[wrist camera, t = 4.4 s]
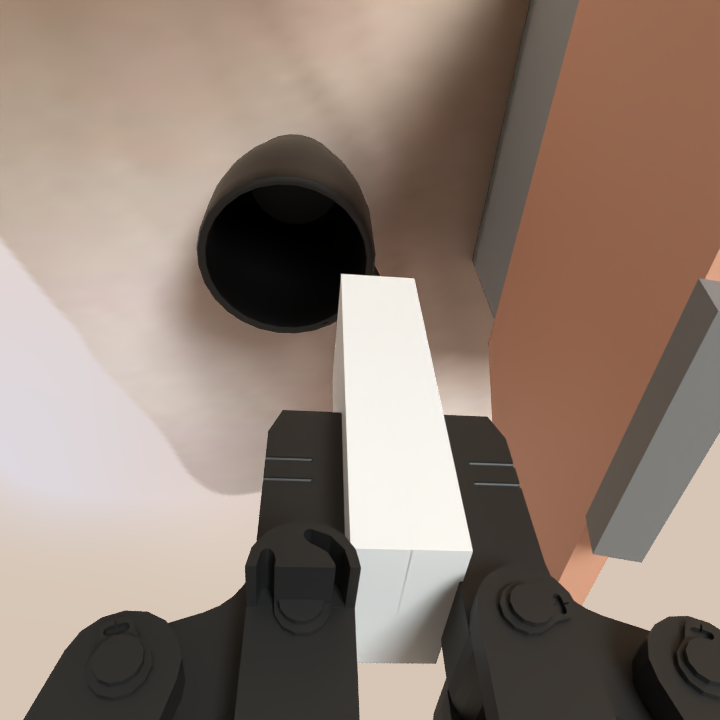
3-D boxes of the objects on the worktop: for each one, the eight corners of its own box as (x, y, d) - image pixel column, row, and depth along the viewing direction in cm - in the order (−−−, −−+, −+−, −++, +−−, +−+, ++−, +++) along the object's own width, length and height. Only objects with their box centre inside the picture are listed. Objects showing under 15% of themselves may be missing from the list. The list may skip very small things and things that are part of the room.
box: (472, 260, 40) (503, 343, 33) (574, -197, 27) (663, -223, 20) (738, 277, 42) (823, 359, 35) (959, -148, 29) (1169, -155, 21)
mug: (334, 307, 42) (336, 401, 34) (193, 177, 36) (158, 256, 29) (433, 231, 39) (458, 316, 31) (295, 75, 33) (286, 135, 26)
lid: (505, 345, 33) (486, 343, 33) (668, -223, 20) (635, -227, 20) (539, 731, 18) (504, 725, 18) (1339, -598, 5) (1193, -608, 5)
